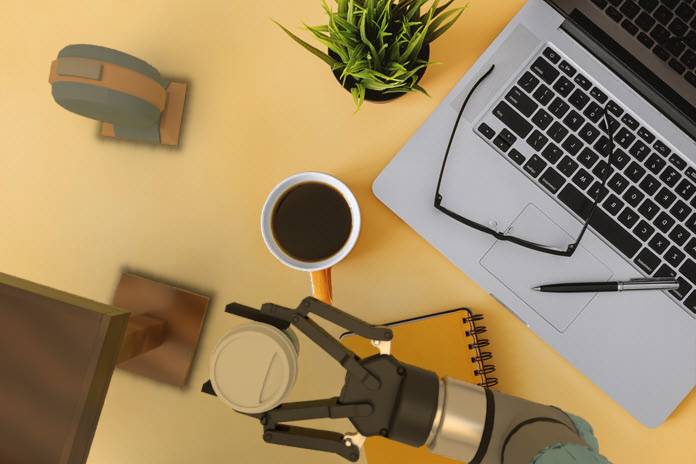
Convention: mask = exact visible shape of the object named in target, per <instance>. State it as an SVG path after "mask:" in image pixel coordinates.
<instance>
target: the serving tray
mask: <svg viewBox="0 0 696 464" xmlns="http://www.w3.org/2000/svg"><path fill="white" fill-rule="evenodd" d="M130 315H131V311H127V310H124V309H121V308H118V307H114V306H113V305H110V304H107V303H104V302H101V301H97V300H94V299H92V298H88V297H85V296H82V295H78V294H75V293H72V292H68V291H65V290H62V289H58V288H55V287H52V286H49V285H45V284H42V283H39V282H35V281H32V280H29V279H25V278H22V277H19V276H16V275H12V274H9V273H6V272H2V271H0V464H87V462H88V459H89V455H90V452H91V448H92V445H93V443H94V438H95V435H96V431H97V429H98V425H99V421H100V418H101V415H102V411H103V408H104V406H105V402H106V399H107V396H108V395H107V394H108V391H109V388H110V384H111V382H112V378H113V375H114V372H115V369H116V367H115V365H116V362H117V358H118V355H119V351H120V348H121V345H122V341H123V338H124V335H125V331H126V328H127V325H128V321H129V318H130Z"/></svg>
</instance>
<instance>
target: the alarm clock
mask: <svg viewBox="0 0 696 464" xmlns="http://www.w3.org/2000/svg"><path fill="white" fill-rule="evenodd" d="M49 69H50V70H49V74H48V75H49V76H48V84H50V86H51V96H52V98H53V101H54V102H55V103H56V104H57V105H58V106H60V107H61V108H63V109H64V110H66V111H68V112H70V113H73V114H75V115H78V116H81V117H84V118H87V119H90V120H94V121H98V122H102V129H101V136H103V137H112V138H117V139H126V140H133V141H140V142H148V143H155V144H163V145H167V146H176V147H177V146H178V143H179V137H180V131H181V126H182V119H183V112H184V106H185V100H186V94H187V87H188V84H187V83H181V82H175V81H174V82H173V81H170V80H164V79H163V76H162V74H161V72H160V71H159V70H158V69H157V68H156V67H154V66H153V65H152V64H150V63H149V62H147V61H145V60H143V59H141V58H139V57H137V56H134V55H132V54H130V53H127V52H124V51H121V50H118V49H114V48H110V47H106V46H103V45H97V44H89V43H75V44H68V45H65V46H64V47H63V48H62V49H61V50H60V51H58V53H57V56H56V59H54V60H52V61H51V64H50V68H49Z"/></svg>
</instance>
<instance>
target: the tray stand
mask: <svg viewBox="0 0 696 464" xmlns="http://www.w3.org/2000/svg"><path fill="white" fill-rule="evenodd" d="M210 301H211V297H209V296H207V295H206V296H205V295H202V294H198V293H196V292H192V291H189V290H186V289H183V288H180V287H175V286H172V285H169V284H165V283H162V282H159V281H155V280H152V279H149V278H147V277H142V276H139V275H136V274H132V273H129V272H122V273H121V277H120V279H119V283H118V286H117V289H116V293H115V296H114V300H113V303H112V306H114V307H118V308H121V309H124V310H127V311H131V315H130V318H129V321H128V325H127V328H126V331H125V335H124V338H123V341H122V345H121V348H120V351H119V355H118V358H117V362H116V365H115V368H117V369H120V370H123V371H126V372H129V373H133V374H135V375H140V376H143V377H146V378H148V379H151V380H155V381H159V382H162V383H165V384H167V385H171V386H175V387H178V388H181V389H183V388H184V387H185V386H186V383H187V379H188V376H189V373H190V369H191V365H192V363H193V359H194V355H195V353H196V352H195V351H196V349H197V346H198V342H199V338H200V335H201V331H202V328H203V325H204V321H205V318H206V314H207V312H208V308H209V305H210Z"/></svg>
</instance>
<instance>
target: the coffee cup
mask: <svg viewBox="0 0 696 464" xmlns="http://www.w3.org/2000/svg"><path fill="white" fill-rule="evenodd" d="M300 347H301V345H300V340H299V337H298V335H297V334H296V332H295V330H294V329H292V328H291V326H290V327H289V328H287V329H286V330H283V329H280V328H276V327H273V326H271V325H269V324H265V323H260V322H256V321H249V322H244V323H241V324H238V325H236V326H234V327H232V328H231V329H229V330H227V331H226V332H225V333H224V334H223V335H222V336H221V337H220V338H219V340H218V341H217V343H216V344H215V346H214V348H213V350H212V352H211V355H210V359H209V366H208V367H209V368H208V369H209V372H208V373H209V379H210V380H211V384H212V387H213V389H214V391H215V393H216V394H217V396H218V397H217V398H218V399H219V400H220V401H221V402H222V403H223V404H224V405H226V406H227V407H228V408H230V409H231V410H233V409H234V410H237V411H240V412H245V413H261V412H265V411H268V410H271V409H273V408H274V407H276V406H278V405H279V404H281V403H284V402H285V401H286V399H288V397H289V396H290V395H291V393H292V392H293V390H294V388H295V387H296V384H297V380H298V377H299V369H300V367H299V356H300V349H301V348H300ZM234 410H233V411H234Z"/></svg>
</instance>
